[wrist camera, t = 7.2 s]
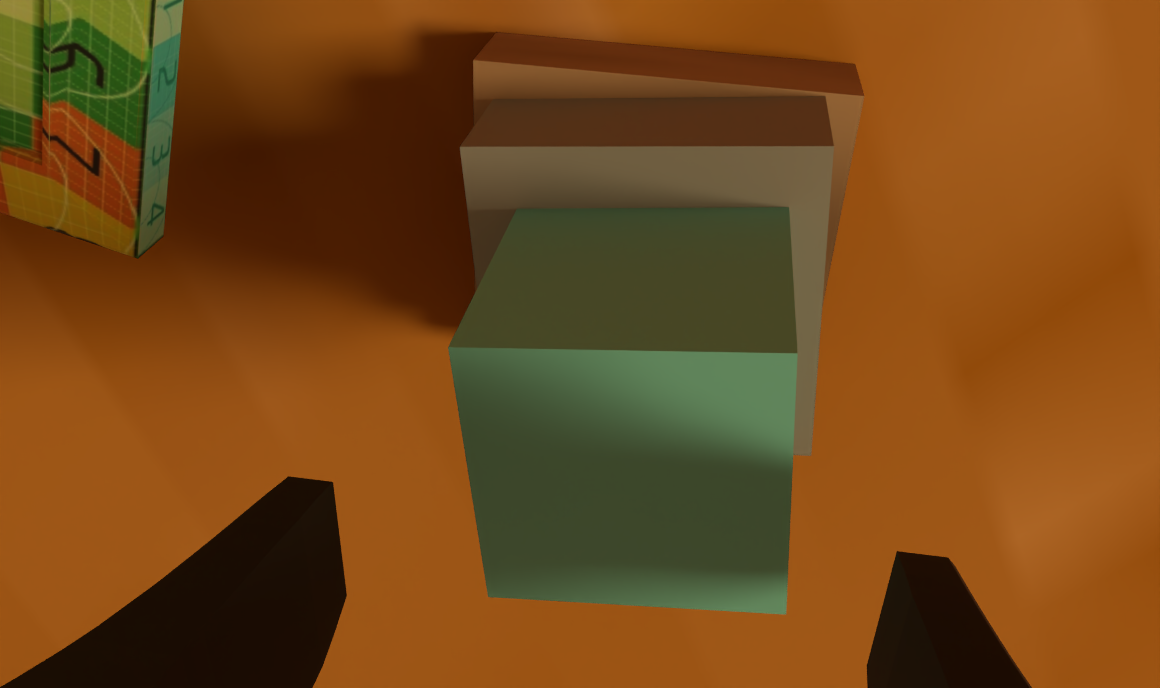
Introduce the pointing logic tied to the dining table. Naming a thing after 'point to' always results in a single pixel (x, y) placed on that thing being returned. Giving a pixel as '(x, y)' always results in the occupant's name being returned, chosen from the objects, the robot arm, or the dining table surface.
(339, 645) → the dining table surface
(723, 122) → the beige square block
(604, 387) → the teal cube
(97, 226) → the puzzle game
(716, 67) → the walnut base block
